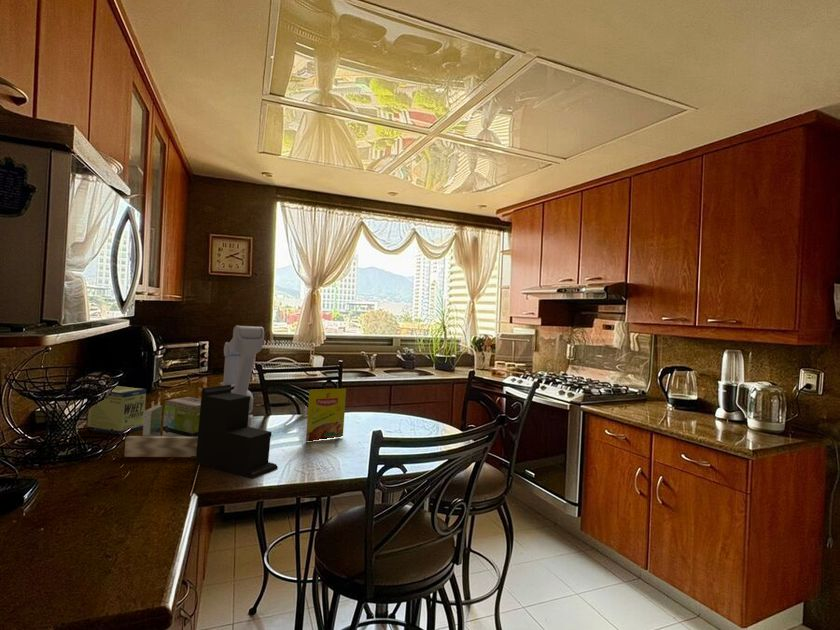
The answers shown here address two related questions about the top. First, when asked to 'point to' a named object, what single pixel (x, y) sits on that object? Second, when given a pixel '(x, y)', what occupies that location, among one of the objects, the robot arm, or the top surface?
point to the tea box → (181, 417)
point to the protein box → (119, 411)
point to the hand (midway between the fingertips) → (229, 405)
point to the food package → (325, 413)
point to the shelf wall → (160, 446)
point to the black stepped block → (231, 435)
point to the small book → (152, 421)
